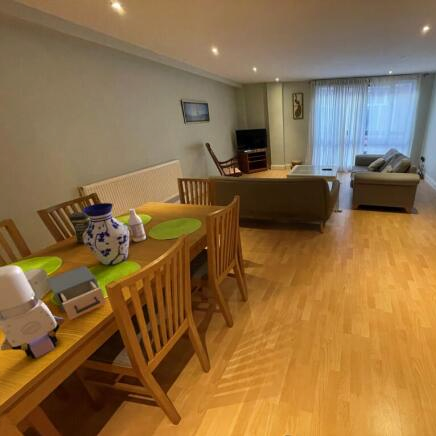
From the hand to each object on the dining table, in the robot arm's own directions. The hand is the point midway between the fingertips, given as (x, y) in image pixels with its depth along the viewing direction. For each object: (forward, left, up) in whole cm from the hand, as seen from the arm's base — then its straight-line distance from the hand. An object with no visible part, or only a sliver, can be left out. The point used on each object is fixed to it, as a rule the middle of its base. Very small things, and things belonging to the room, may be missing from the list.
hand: (44, 349), depth 78 cm
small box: (+4, +38, -1) cm, 38 cm away
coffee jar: (+32, +83, -1) cm, 89 cm away
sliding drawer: (+14, +12, +1) cm, 19 cm away
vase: (+34, +44, -1) cm, 56 cm away
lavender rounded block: (0, 0, 0) cm, 0 cm away
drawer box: (+14, +24, 0) cm, 28 cm away
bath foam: (+52, +59, -1) cm, 79 cm away
